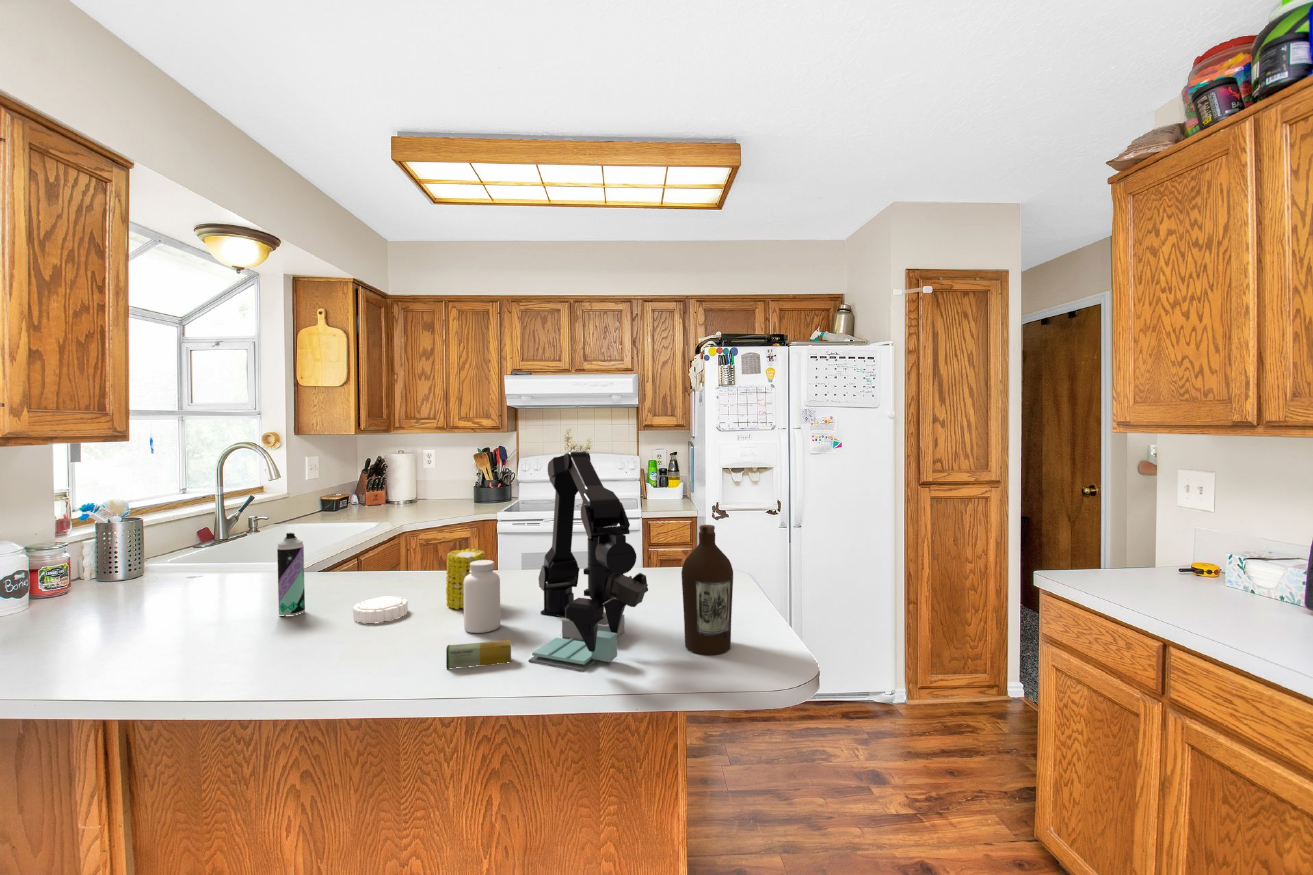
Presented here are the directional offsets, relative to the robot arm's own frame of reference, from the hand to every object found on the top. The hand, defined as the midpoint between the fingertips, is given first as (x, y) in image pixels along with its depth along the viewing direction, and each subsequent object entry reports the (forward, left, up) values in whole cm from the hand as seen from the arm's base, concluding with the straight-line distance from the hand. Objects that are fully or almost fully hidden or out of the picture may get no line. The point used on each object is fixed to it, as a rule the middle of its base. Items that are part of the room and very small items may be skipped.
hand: (603, 642), depth 112 cm
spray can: (-86, -2, -4) cm, 86 cm away
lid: (-6, 0, -3) cm, 7 cm away
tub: (-9, +12, -4) cm, 15 cm away
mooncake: (-64, +5, -4) cm, 64 cm away
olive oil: (+16, +15, -4) cm, 22 cm away
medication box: (-22, -9, -4) cm, 24 cm away
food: (-50, +19, -4) cm, 53 cm away
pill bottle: (-35, +7, -4) cm, 36 cm away
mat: (-8, 0, -4) cm, 9 cm away
